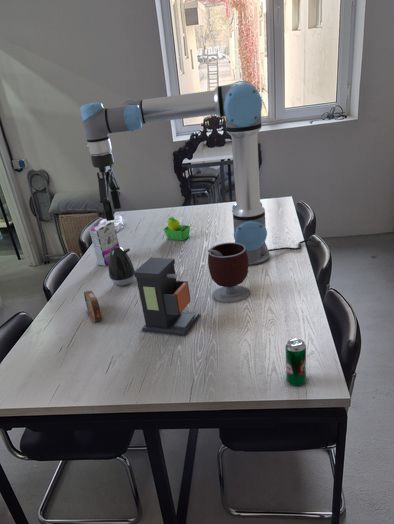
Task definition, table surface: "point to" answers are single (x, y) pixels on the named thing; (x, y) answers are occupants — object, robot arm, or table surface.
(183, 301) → the push plate
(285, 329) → the table surface
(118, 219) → the knuckle duster
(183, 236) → the fruit basket
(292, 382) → the soda can
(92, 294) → the tin
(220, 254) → the mate gourd
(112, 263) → the pump dispenser
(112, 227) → the candy bar box
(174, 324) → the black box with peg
